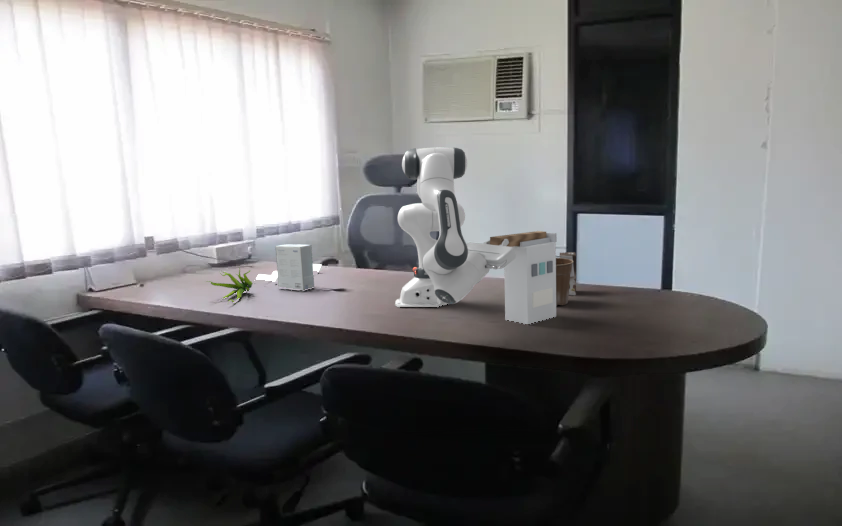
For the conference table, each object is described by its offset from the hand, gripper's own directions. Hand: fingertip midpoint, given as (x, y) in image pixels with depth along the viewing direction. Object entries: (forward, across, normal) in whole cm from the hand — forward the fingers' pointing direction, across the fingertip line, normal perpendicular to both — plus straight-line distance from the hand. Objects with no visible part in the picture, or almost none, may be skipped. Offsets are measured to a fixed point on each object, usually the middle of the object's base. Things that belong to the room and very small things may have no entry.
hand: (500, 239), depth 216 cm
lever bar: (+6, 0, +7) cm, 9 cm away
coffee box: (+34, +16, +53) cm, 65 cm away
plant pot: (+18, +9, +44) cm, 48 cm away
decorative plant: (-50, +114, +6) cm, 124 cm away
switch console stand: (-2, 0, +32) cm, 32 cm away
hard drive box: (-25, +114, +20) cm, 119 cm away
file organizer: (-15, +143, +27) cm, 146 cm away
